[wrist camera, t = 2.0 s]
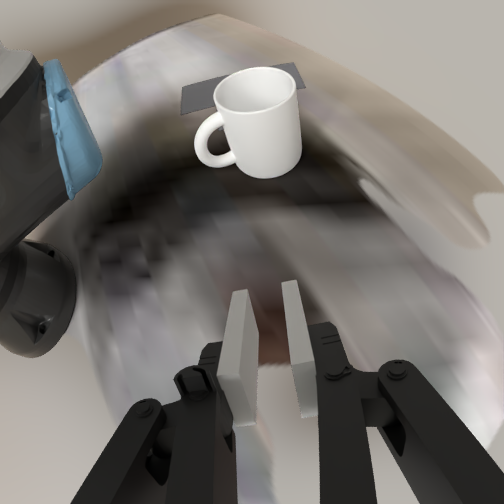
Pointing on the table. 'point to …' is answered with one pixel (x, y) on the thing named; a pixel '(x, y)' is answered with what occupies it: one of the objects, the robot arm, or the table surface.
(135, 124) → the table surface
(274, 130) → the mug
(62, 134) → the robot arm
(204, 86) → the t mat
